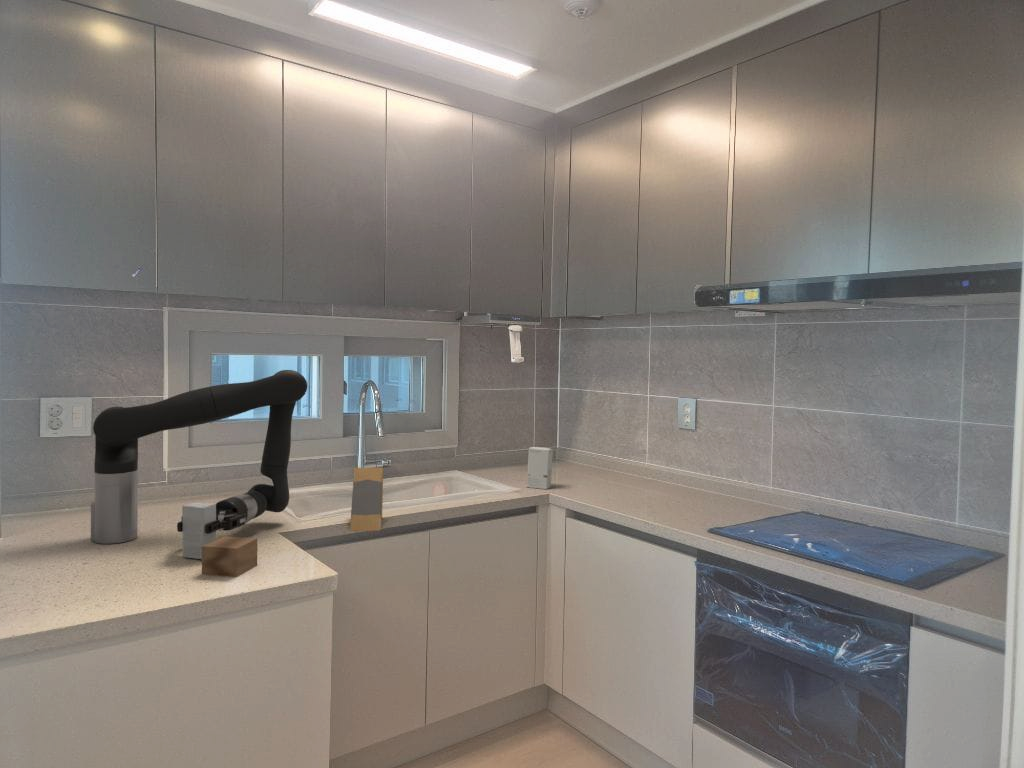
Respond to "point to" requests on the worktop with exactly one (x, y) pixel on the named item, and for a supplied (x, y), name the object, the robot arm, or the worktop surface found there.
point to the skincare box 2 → (539, 467)
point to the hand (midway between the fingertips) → (193, 528)
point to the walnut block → (229, 556)
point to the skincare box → (197, 528)
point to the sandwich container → (367, 499)
